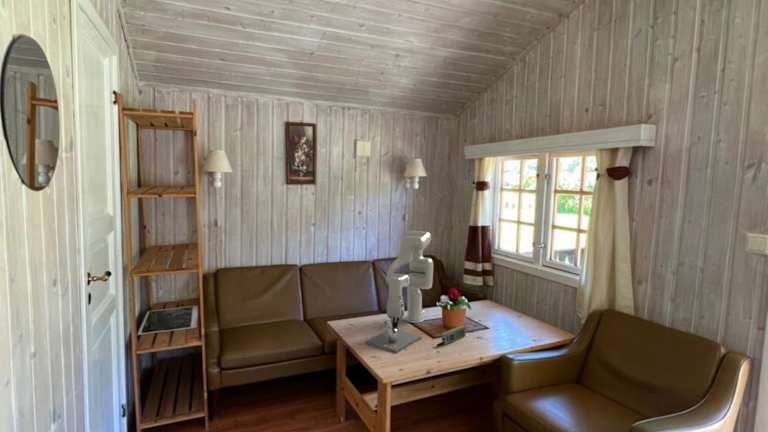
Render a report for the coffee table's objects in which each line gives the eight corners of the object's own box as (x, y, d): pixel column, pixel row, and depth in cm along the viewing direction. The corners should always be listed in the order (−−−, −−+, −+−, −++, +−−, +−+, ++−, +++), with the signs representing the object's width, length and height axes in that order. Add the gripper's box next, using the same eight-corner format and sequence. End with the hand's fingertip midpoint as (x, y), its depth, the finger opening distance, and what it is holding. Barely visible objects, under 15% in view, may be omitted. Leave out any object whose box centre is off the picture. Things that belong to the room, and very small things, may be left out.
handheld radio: (466, 336, 258) (439, 348, 241) (461, 335, 260) (435, 346, 243) (466, 325, 257) (439, 336, 240) (461, 324, 260) (435, 335, 243)
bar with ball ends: (383, 329, 263) (383, 317, 263) (391, 329, 264) (391, 317, 263) (390, 345, 239) (390, 332, 238) (399, 344, 240) (399, 331, 239)
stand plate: (391, 330, 267) (391, 327, 267) (421, 338, 254) (421, 335, 254) (365, 343, 247) (365, 340, 247) (396, 353, 234) (396, 350, 233)
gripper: (409, 298, 251) (409, 328, 252) (388, 294, 259) (388, 323, 261) (402, 301, 245) (402, 332, 246) (381, 296, 253) (381, 327, 255)
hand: (395, 328), depth 254 cm, fingers closed
